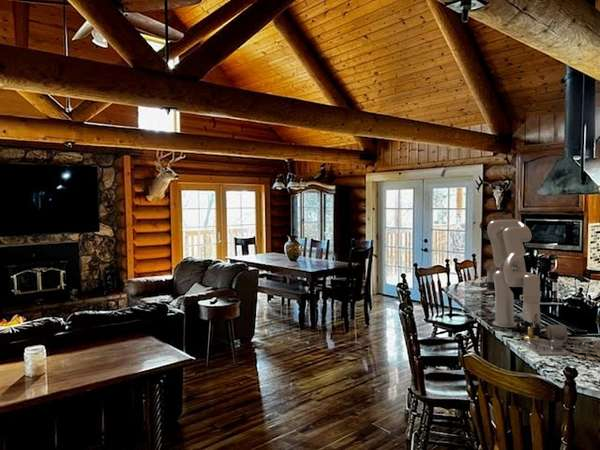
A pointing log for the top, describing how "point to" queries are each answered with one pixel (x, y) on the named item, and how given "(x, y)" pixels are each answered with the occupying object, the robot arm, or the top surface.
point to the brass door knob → (530, 334)
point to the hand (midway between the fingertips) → (531, 332)
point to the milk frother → (489, 280)
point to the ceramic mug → (557, 332)
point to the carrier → (546, 346)
